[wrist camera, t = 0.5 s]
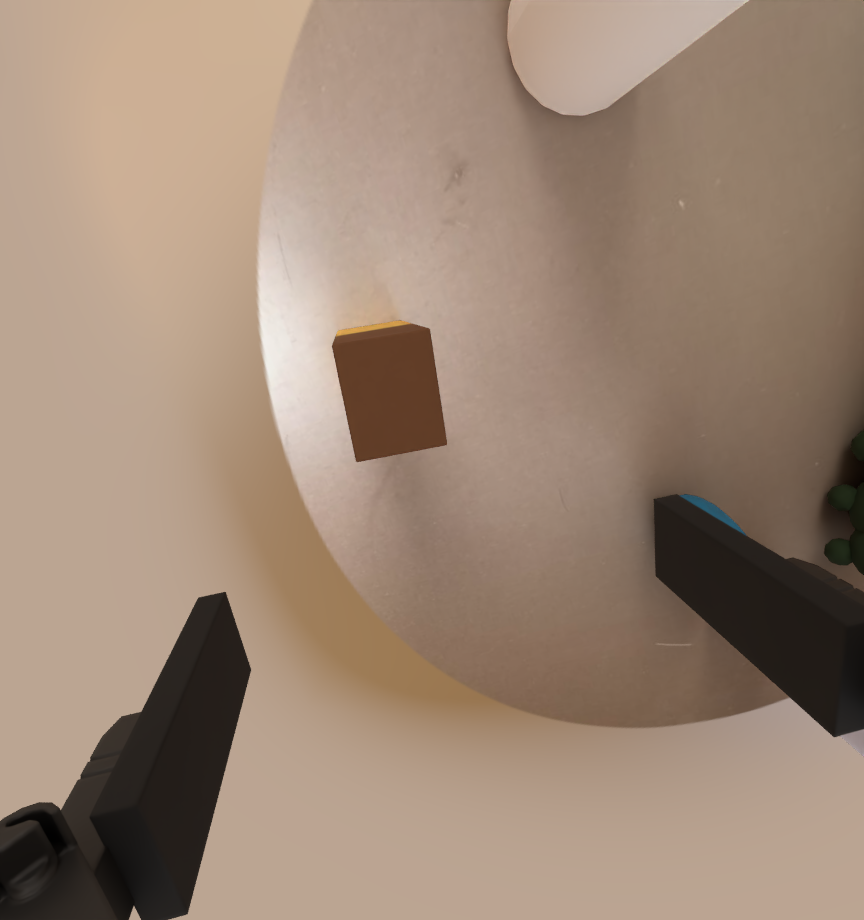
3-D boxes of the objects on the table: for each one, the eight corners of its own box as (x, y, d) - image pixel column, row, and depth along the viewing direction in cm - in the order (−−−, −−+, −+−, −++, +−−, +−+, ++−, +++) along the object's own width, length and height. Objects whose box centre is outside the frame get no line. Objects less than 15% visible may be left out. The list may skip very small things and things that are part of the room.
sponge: (353, 409, 34) (356, 462, 22) (337, 330, 32) (331, 344, 21) (414, 398, 34) (447, 445, 23) (401, 320, 33) (429, 328, 21)
